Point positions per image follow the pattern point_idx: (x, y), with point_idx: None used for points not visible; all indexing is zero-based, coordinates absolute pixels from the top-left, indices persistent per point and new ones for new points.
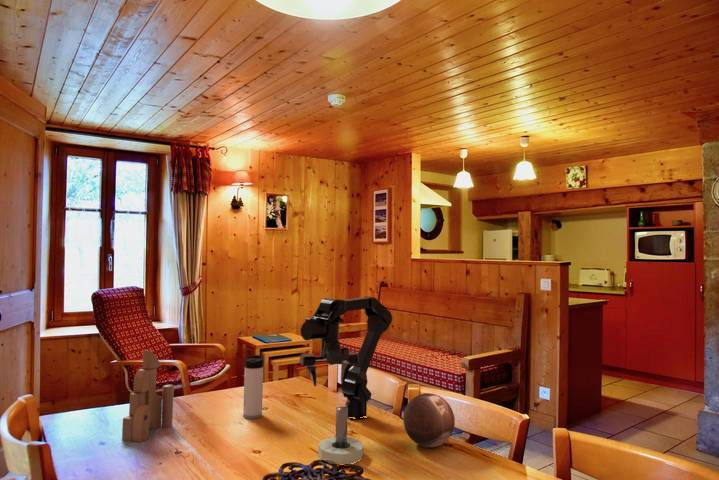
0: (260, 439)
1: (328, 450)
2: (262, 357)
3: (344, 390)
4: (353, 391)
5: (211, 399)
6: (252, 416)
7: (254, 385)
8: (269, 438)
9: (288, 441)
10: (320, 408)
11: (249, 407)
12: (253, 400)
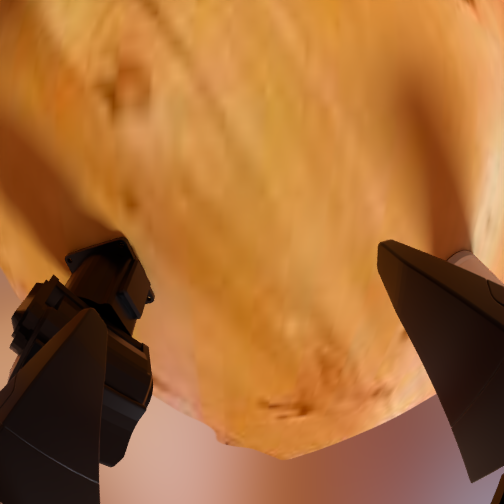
0: (469, 71)
1: None
2: None
3: (128, 348)
4: (59, 306)
5: None
6: (467, 253)
7: None
8: (449, 69)
9: (395, 20)
10: (249, 346)
11: (488, 269)
12: (495, 282)
